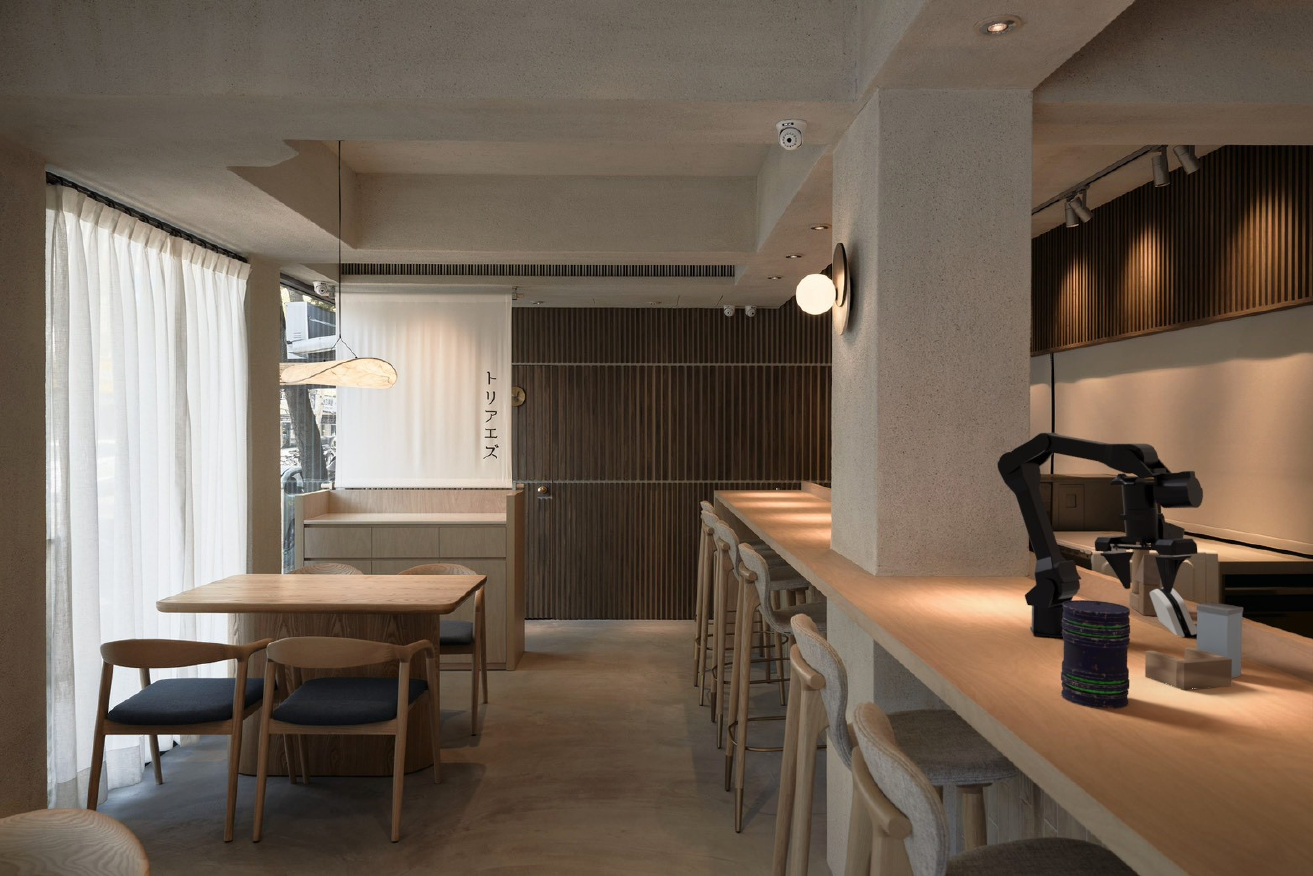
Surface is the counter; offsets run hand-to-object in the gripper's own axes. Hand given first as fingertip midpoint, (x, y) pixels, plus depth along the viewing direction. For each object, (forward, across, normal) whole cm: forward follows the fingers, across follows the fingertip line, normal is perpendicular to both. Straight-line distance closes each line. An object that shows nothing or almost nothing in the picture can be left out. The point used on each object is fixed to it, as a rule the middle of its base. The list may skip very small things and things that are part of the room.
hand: (1147, 590), depth 168 cm
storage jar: (+13, -17, +31) cm, 38 cm away
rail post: (+14, -12, -2) cm, 18 cm away
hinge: (+12, +17, -24) cm, 32 cm away
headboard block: (+13, -13, +8) cm, 20 cm away
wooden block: (+10, +32, -33) cm, 47 cm away
